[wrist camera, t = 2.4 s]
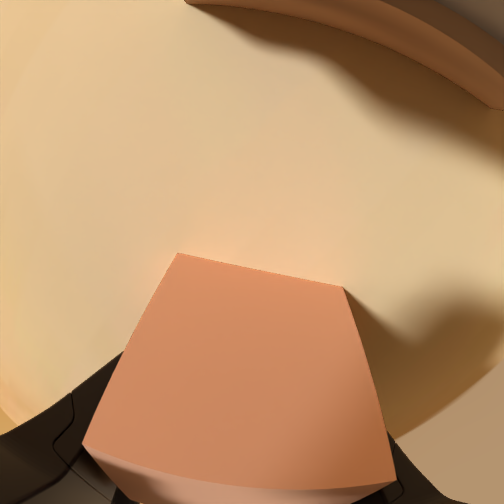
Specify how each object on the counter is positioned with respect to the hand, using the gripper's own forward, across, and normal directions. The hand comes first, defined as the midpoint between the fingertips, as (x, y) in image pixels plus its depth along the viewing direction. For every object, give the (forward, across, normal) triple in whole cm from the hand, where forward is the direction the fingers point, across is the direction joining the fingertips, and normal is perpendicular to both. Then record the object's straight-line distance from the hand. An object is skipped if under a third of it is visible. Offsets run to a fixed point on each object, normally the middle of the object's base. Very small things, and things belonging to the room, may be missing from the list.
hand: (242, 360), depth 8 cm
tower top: (-1, -1, -14) cm, 14 cm away
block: (+1, 0, 0) cm, 1 cm away
